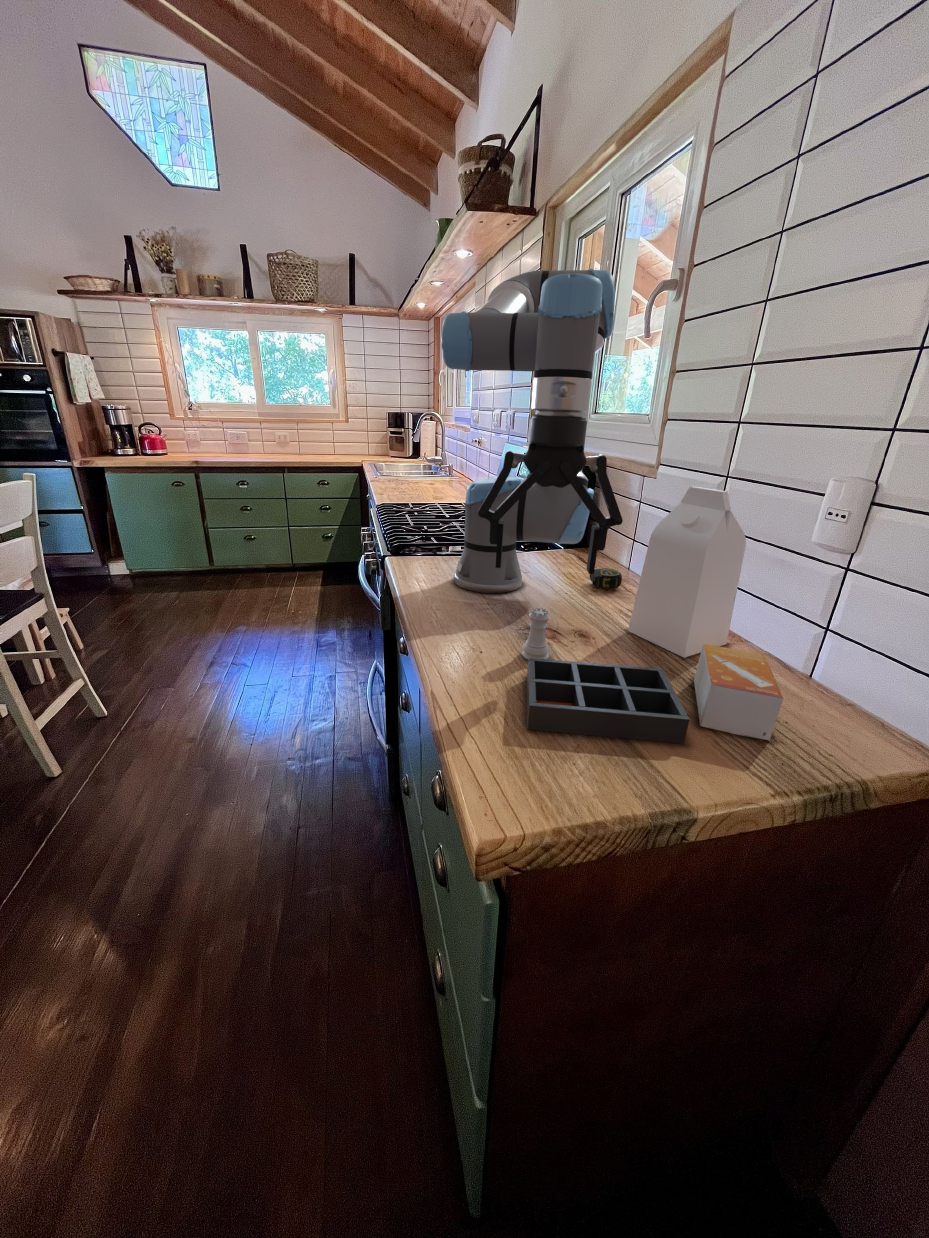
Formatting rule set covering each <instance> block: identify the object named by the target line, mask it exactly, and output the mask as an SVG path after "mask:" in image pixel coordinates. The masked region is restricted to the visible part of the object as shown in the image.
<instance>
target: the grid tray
mask: <svg viewBox="0 0 929 1238" xmlns="http://www.w3.org/2000/svg"><path fill="white" fill-rule="evenodd" d="M527 661H528V662H527V672H526V717H527V718H526V721H527V723H526V724H527V725H526V726H527V727H526V728H527V730H528V731H540V732H550V733H561V734H571V735H572V734H573V735H583V736H594V737H605V738H615V739H625V740H637V741H648V742H659V743H670V744H678V745H679V744H680V745H684V744H685V741H686V736H687V732H688V728H689V725H690V716H689V715H688V714H687V711H686V710H685V708H684V706H683V704H682V703H681V701H680V699H679V697H678V695H677V693H676V691H675V690H674V688H673V686H672V684H671V682H670V681H669V678H668V676H667V675H666V673H665V671H664V669H663V668H660V667H659V668H658V667H647V666H633V665H622V664H611V663H610V664H609V663H597V662H586V661H573V660H572V661H571V660H559V659H548V658H547V659H535V658H529V660H527Z"/></svg>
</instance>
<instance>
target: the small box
mask: <svg viewBox="0 0 929 1238" xmlns="http://www.w3.org/2000/svg"><path fill="white" fill-rule="evenodd" d="M699 654H700V655H699V659H698V663H697V666H696V671H695V675H694V679H693V683H694V692H695V697H696V705H697V712H698V720H699V726H700V727H703V728H705V729H711V730H715V731H720V732H723V733H729V734H732V735H737V736H743V737H748V738H754V739H760V740H765V741H771V738H772V735H773V731H774V728H775V725H776V722H777V718H778V715H779V713H780V709H781V707H782V703H783V700H784V697H783V695H782V692H781V690H780V687H779V686H778V683H777V680H776V678H775V676H774V674H773V671H772V669H771V667H770V664H769V663H768V660H767V658H766V655H765V653H763V652H756V651H749V650H742V649H735V648H729V647H726V646H725V647H724V646H713V645H707V644H703V646H702V650H701V652H700V653H699Z"/></svg>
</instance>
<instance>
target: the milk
mask: <svg viewBox="0 0 929 1238" xmlns="http://www.w3.org/2000/svg"><path fill="white" fill-rule="evenodd" d="M731 509H732V507H731V503H730V495H729V491H728V490H721V489H714V488H708V487H703V486H702V487H701V486H694V485H693V486H689V488H688V489H687V490H686V492H685V494H684V495H683V497H682V499H681V500H680V503H678V504H677V505H676V506H675V507H674V508H673V509H672V510H671V511H670V512H668V514H667V515H666V516H665V517H663V519H662V520H661V521H660V522H659V523H658V524H657V525H656V526H655V528H654V529H653V530H652V532H651V534H650V537H649V541H648V545H647V549H646V554H645V558H644V561H643V566H642V570H641V575H640V578H639V582H638V586H637V591H636V596H635V600H634V603H633V607H632V612H631V617H630V620H629V625H628V627H627V628H628V629H627V632H628V633H631V634H634V635H635V636H637V637H640V638H642V639H644V640H646V641H647V642H650V643H652V644H654V645H656V646H658V647H660V648H663V649H665V650H667V651H669V652H671V653H673V654H675V655H677V656H680V657H682V658H684V659H685V658H687V657H691V656H695V655H697V654H701V650H702V646H703V644H707V645H713V646H719V647H723V646H725V645H727V643H728V640H729V633H730V628H731V622H732V618H733V612H734V607H735V603H736V598H737V593H738V587H739V584H740V583H739V582H740V578H741V572H742V566H743V561H744V556H745V551H746V546H747V538H746V535H745V532H744V530H743V529H742V527H741V525H740V523H739V522H738V520H737V518H736V517H735V515H734V513H733V511H731Z"/></svg>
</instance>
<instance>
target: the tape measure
mask: <svg viewBox="0 0 929 1238" xmlns="http://www.w3.org/2000/svg"><path fill="white" fill-rule="evenodd" d="M588 577H589V579H590V581H591V583H592V585H593V587H594V588H595V589H606V590H613V589H614V590H615V589H618V588H619V587H620V586H621V584H622V581H623V575H622V573H621V572H620V571H619V570H617V569H614V568H607V567H605V568H604V567H603V568H595V570H594V574H589V576H588Z"/></svg>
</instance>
